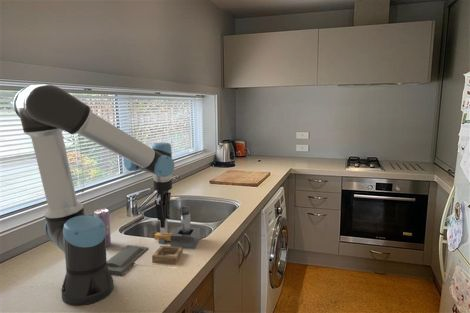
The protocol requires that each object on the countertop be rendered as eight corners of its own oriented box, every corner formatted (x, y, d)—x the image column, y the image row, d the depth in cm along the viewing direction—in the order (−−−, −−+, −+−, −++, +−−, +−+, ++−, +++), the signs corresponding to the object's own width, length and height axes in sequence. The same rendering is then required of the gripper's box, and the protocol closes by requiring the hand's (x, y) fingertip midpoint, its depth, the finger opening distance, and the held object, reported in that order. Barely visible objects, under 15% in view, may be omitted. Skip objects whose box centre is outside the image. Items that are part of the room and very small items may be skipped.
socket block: (194, 251, 133) (194, 237, 132) (156, 248, 135) (156, 234, 134) (200, 241, 143) (200, 228, 142) (165, 238, 145) (164, 225, 144)
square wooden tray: (175, 266, 120) (175, 258, 120) (152, 264, 122) (152, 256, 121) (182, 255, 129) (182, 247, 129) (160, 253, 130) (160, 245, 130)
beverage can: (106, 240, 141) (104, 207, 139) (113, 244, 138) (112, 210, 135) (92, 245, 137) (90, 211, 134) (100, 249, 133) (98, 214, 131)
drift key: (170, 240, 138) (170, 236, 137) (154, 239, 139) (154, 235, 138) (172, 237, 141) (172, 233, 140) (157, 236, 142) (157, 232, 141)
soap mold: (149, 252, 133) (149, 243, 132) (122, 277, 114) (121, 268, 113) (127, 249, 135) (126, 241, 135) (96, 273, 116) (95, 264, 116)
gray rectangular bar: (189, 245, 136) (188, 208, 133) (179, 244, 137) (179, 208, 134) (191, 241, 140) (191, 205, 137) (182, 240, 141) (182, 204, 138)
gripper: (166, 184, 128) (167, 240, 132) (176, 176, 141) (177, 228, 145) (147, 183, 129) (149, 239, 133) (159, 175, 142) (160, 227, 146)
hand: (163, 233), depth 139 cm, fingers closed
